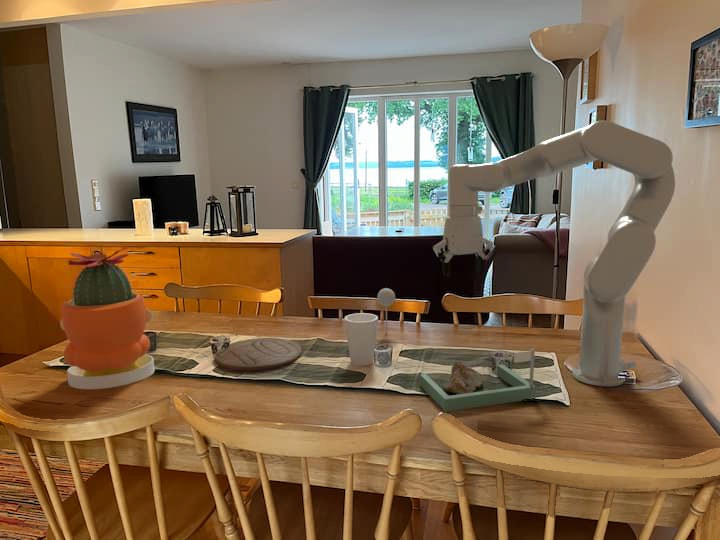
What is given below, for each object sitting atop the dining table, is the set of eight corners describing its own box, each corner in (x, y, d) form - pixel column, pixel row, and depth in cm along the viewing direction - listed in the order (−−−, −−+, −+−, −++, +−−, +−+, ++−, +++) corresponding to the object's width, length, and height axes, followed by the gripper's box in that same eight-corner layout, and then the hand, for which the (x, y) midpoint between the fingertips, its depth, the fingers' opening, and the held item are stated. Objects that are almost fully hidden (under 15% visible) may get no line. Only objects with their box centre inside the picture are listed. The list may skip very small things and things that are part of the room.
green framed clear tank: (502, 375, 144) (503, 331, 141) (535, 398, 129) (537, 350, 127) (420, 385, 138) (420, 340, 136) (445, 411, 123) (445, 361, 121)
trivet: (240, 380, 144) (239, 373, 144) (201, 356, 164) (200, 350, 163) (317, 358, 160) (317, 351, 160) (273, 338, 179) (273, 332, 179)
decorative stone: (484, 360, 141) (481, 389, 127) (483, 375, 142) (480, 406, 129) (447, 357, 143) (440, 385, 130) (447, 372, 145) (440, 401, 131)
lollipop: (375, 330, 184) (374, 287, 181) (391, 328, 186) (391, 285, 183) (381, 335, 178) (380, 291, 175) (398, 333, 180) (397, 289, 177)
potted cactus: (71, 371, 152) (56, 247, 146) (156, 360, 160) (145, 241, 153) (60, 401, 132) (41, 259, 126) (157, 387, 140) (144, 252, 133)
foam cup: (375, 368, 150) (374, 323, 147) (342, 366, 152) (341, 321, 149) (380, 356, 159) (380, 313, 157) (349, 355, 161) (348, 312, 158)
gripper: (485, 209, 151) (484, 269, 154) (427, 212, 146) (428, 275, 149) (500, 210, 144) (498, 274, 147) (439, 214, 139) (440, 280, 142)
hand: (463, 274), depth 148 cm, fingers open, 9 cm apart
